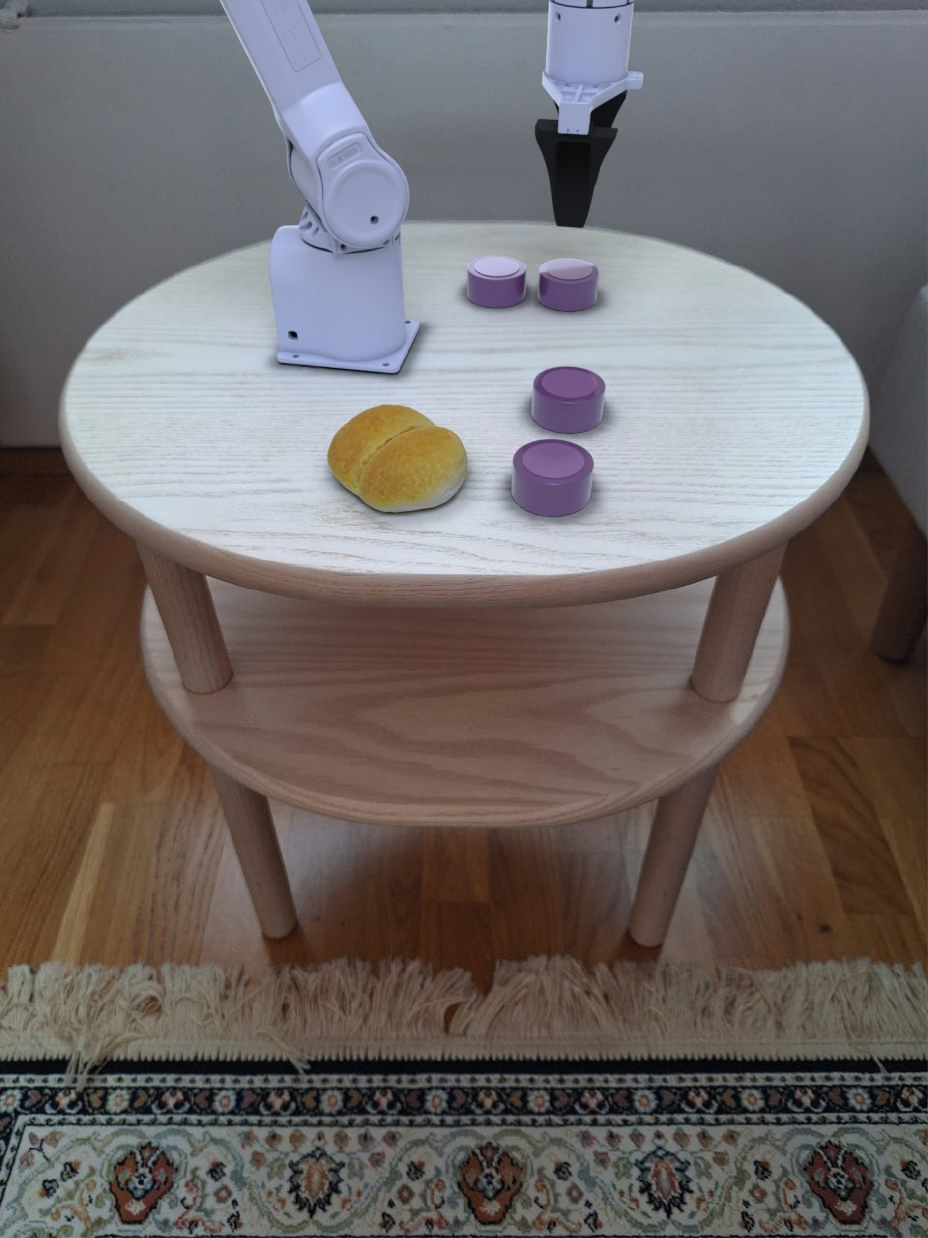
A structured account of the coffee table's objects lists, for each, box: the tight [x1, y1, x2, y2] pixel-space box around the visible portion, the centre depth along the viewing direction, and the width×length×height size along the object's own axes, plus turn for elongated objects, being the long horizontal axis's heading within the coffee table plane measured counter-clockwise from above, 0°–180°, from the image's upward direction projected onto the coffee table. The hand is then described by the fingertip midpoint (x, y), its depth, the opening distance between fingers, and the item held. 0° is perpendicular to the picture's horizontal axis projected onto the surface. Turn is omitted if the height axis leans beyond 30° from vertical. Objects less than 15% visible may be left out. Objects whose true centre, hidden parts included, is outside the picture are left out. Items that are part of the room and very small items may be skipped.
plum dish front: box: [510, 438, 595, 517], centre depth 59 cm, size 5×5×2 cm
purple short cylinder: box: [466, 254, 528, 309], centre depth 80 cm, size 5×5×2 cm
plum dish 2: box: [530, 365, 607, 434], centre depth 66 cm, size 5×5×2 cm
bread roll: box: [326, 404, 469, 514], centre depth 60 cm, size 8×9×4 cm
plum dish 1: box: [537, 257, 600, 312], centre depth 79 cm, size 5×5×2 cm
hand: (575, 206), depth 73 cm, fingers open, 7 cm apart
